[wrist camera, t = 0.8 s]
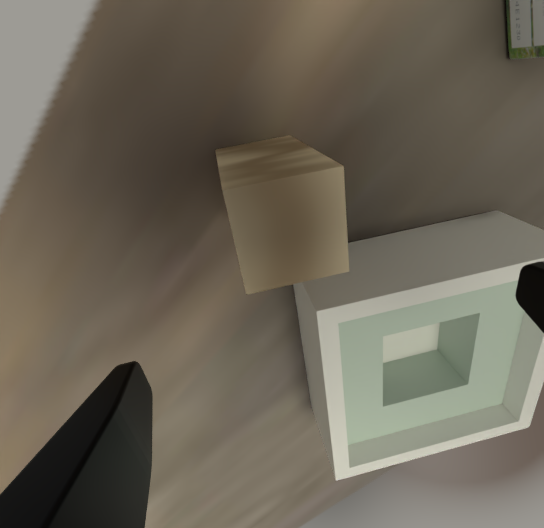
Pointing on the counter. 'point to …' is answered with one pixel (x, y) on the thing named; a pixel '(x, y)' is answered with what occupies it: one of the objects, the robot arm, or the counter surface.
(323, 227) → the maple peg
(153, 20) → the counter surface
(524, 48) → the syrup box
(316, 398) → the open box
